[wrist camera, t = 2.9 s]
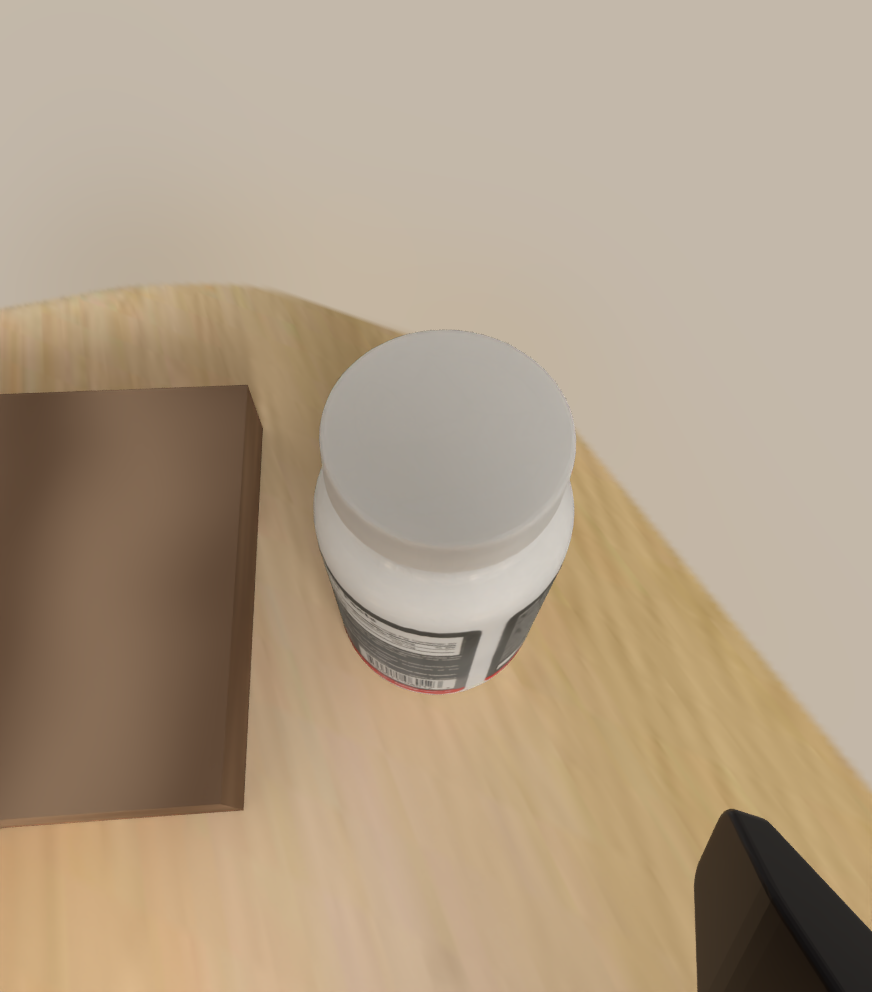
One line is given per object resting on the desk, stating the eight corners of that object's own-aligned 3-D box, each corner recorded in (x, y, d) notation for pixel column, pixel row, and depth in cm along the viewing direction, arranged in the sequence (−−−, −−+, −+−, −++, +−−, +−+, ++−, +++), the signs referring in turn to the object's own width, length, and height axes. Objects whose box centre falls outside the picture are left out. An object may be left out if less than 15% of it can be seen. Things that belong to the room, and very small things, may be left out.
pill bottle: (475, 493, 23) (514, 271, 14) (563, 646, 21) (674, 493, 12) (313, 563, 22) (246, 366, 13) (388, 734, 20) (370, 634, 11)
